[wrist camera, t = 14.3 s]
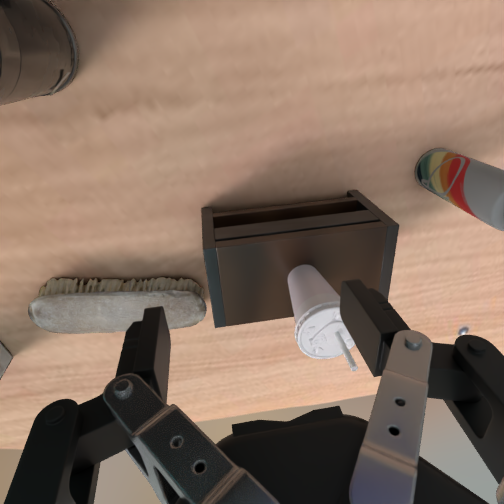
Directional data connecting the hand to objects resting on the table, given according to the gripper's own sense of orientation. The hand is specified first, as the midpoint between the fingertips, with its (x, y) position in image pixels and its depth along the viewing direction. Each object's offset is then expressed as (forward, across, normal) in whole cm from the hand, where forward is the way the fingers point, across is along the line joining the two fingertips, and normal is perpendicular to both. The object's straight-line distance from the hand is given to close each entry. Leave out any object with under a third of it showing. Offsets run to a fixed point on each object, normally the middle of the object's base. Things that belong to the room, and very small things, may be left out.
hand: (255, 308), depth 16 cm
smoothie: (+21, -8, +13) cm, 26 cm away
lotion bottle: (+33, -30, +6) cm, 45 cm away
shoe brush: (+33, +16, +21) cm, 42 cm away
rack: (+33, -8, +14) cm, 36 cm away
